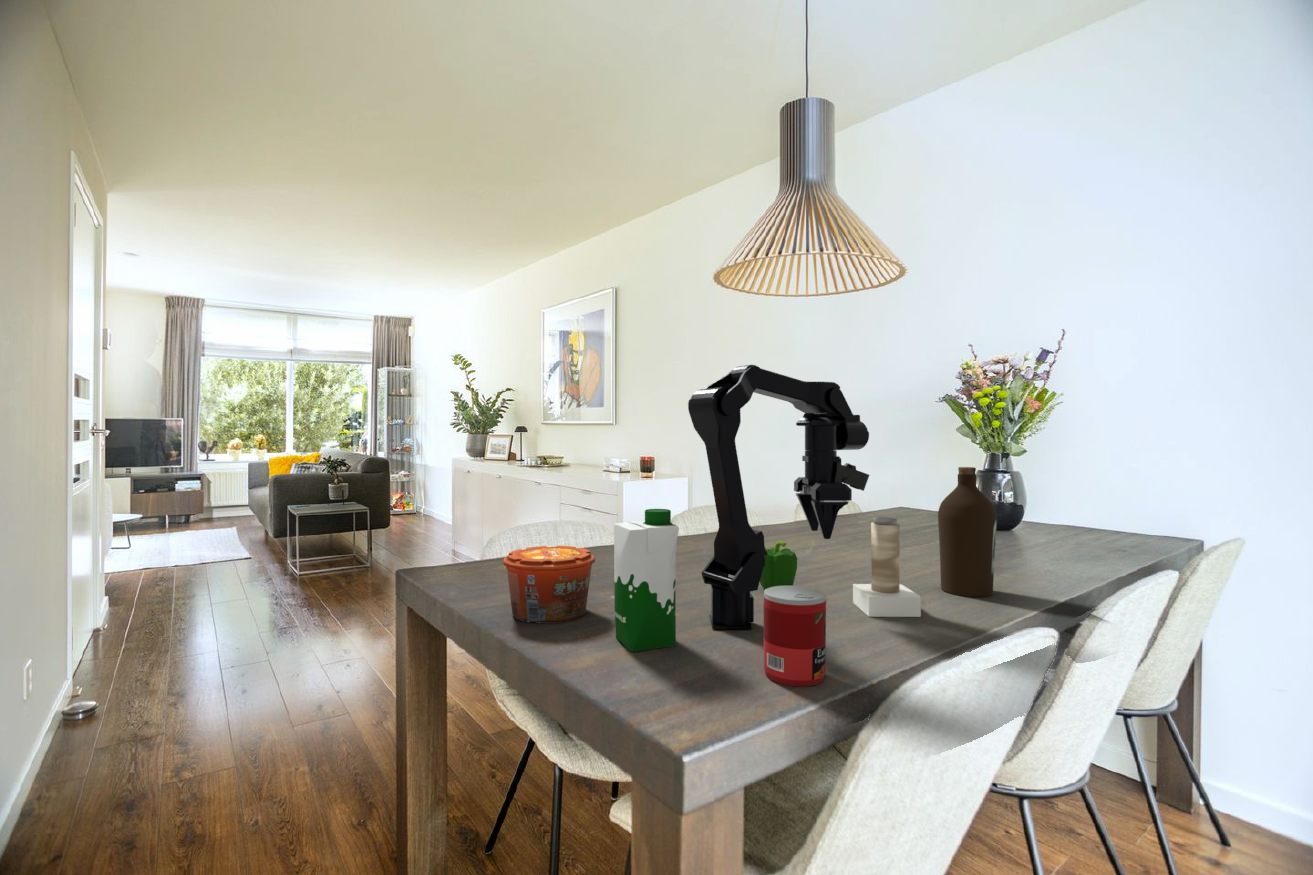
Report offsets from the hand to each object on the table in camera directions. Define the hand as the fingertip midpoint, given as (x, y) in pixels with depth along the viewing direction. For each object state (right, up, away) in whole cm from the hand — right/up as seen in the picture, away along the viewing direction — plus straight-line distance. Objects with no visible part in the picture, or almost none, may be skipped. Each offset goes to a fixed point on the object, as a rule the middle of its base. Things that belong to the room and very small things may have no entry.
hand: (820, 534), depth 115 cm
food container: (-49, -13, -5) cm, 51 cm away
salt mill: (+11, -10, -3) cm, 15 cm away
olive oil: (+32, -13, +10) cm, 36 cm away
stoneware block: (+11, -13, -3) cm, 17 cm away
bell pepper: (-6, -13, +12) cm, 19 cm away
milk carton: (-32, -13, -21) cm, 41 cm away
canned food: (-12, -14, -34) cm, 38 cm away
